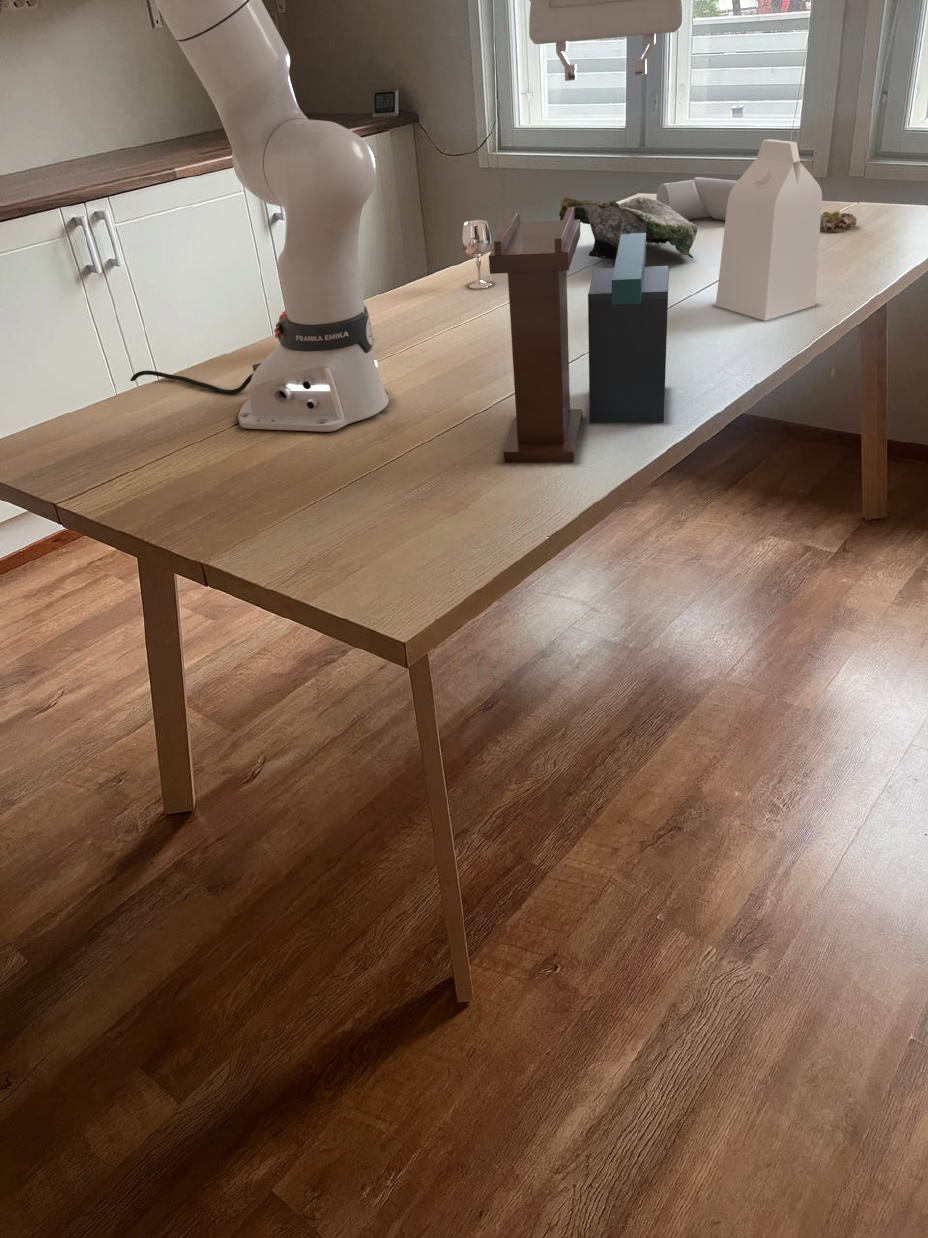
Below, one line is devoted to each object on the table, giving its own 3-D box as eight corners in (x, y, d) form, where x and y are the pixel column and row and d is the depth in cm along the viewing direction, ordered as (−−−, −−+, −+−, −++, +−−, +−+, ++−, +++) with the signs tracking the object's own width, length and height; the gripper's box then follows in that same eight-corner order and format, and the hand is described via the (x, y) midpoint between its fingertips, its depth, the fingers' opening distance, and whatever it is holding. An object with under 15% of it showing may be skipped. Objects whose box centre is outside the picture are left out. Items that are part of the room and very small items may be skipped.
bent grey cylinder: (732, 200, 230) (652, 211, 228) (739, 155, 222) (657, 166, 220) (762, 232, 218) (678, 244, 216) (770, 185, 210) (684, 197, 208)
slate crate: (595, 390, 141) (594, 268, 131) (664, 389, 139) (668, 265, 129) (589, 423, 131) (587, 293, 121) (663, 422, 129) (668, 291, 119)
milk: (815, 305, 164) (835, 138, 149) (765, 320, 160) (780, 150, 145) (764, 291, 173) (778, 132, 158) (715, 305, 169) (725, 143, 154)
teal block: (620, 255, 135) (620, 233, 133) (645, 254, 134) (646, 232, 133) (611, 304, 116) (611, 279, 115) (640, 303, 116) (641, 278, 114)
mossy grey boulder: (535, 241, 188) (549, 159, 184) (569, 266, 216) (582, 196, 212) (682, 259, 180) (700, 174, 176) (698, 283, 207) (713, 210, 204)
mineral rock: (861, 211, 206) (856, 209, 199) (858, 233, 207) (852, 231, 200) (809, 212, 210) (802, 210, 204) (807, 234, 212) (800, 232, 205)
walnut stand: (519, 416, 135) (508, 210, 120) (583, 415, 133) (579, 206, 118) (503, 465, 122) (487, 241, 107) (573, 465, 120) (567, 237, 105)
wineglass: (463, 289, 191) (457, 226, 184) (469, 281, 195) (464, 219, 189) (490, 289, 190) (486, 225, 183) (496, 281, 194) (492, 218, 187)
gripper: (521, -38, 122) (526, 85, 129) (685, -55, 118) (681, 73, 125) (527, -38, 127) (532, 80, 134) (685, -55, 123) (680, 68, 130)
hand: (605, 77), depth 130 cm, fingers open, 8 cm apart
